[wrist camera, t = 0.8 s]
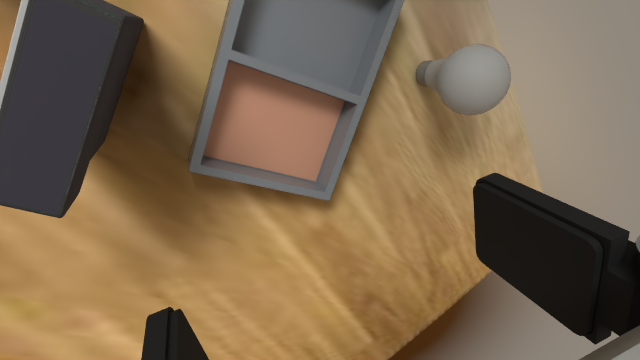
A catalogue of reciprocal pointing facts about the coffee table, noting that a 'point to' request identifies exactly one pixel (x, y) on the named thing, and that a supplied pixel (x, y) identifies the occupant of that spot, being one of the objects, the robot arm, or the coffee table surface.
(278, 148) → the sorting tray
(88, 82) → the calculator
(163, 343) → the robot arm
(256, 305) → the coffee table surface
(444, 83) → the lightbulb
